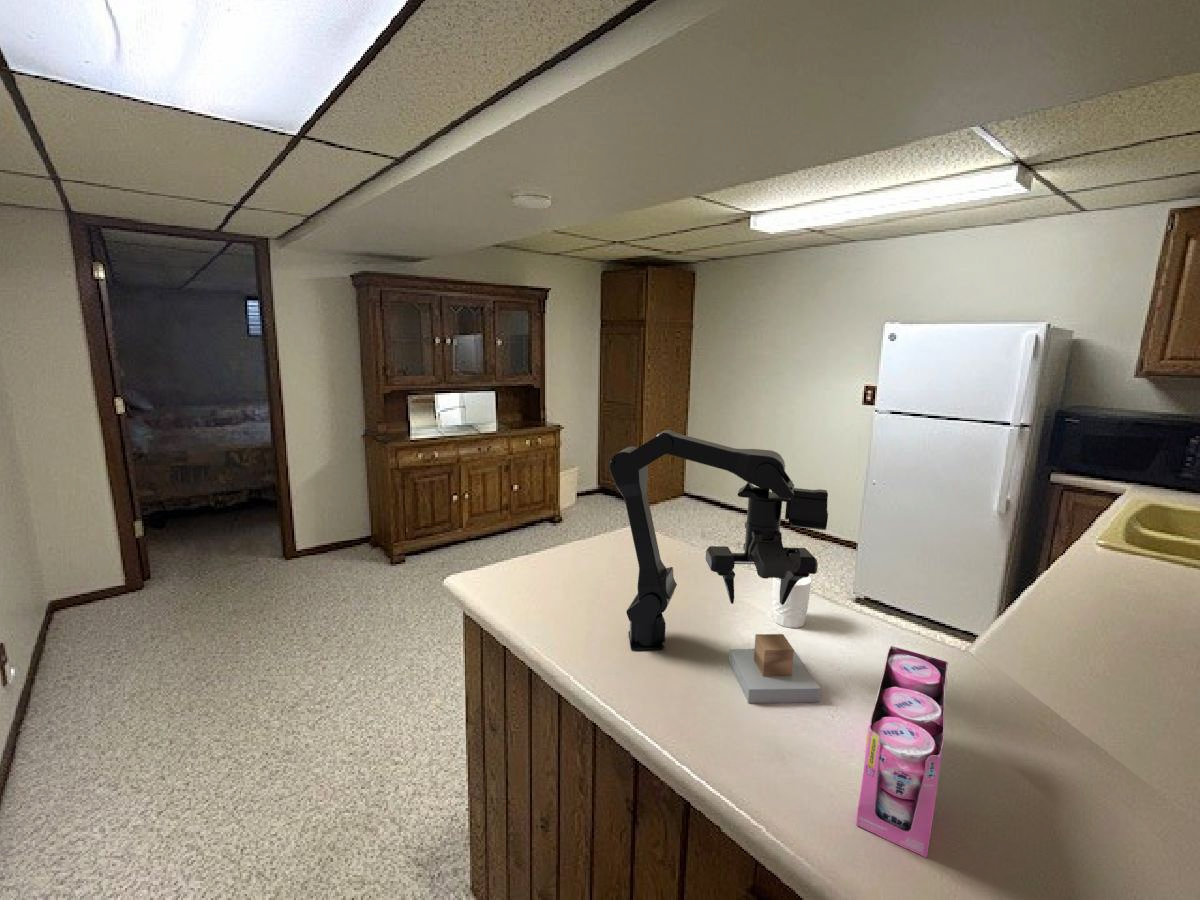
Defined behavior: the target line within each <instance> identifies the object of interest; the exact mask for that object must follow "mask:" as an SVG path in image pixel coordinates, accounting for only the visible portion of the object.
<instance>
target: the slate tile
mask: <svg viewBox="0 0 1200 900" xmlns="http://www.w3.org/2000/svg"><path fill="white" fill-rule="evenodd" d="M754 650H755V648H729V652H728V653H729V654H728V656H729V658H728V661H729V664H730V667H731V668H732V670H733V672H734V675H735V677H736V679H737V682H738V684H739V687H740V688H741V691H742V692H743V694H744V697H745V699H746V701H747V703H748V704H754V703H757V704H759V703H760V704H763V703H764V704H765V703H767V704H768V703H769V704H770V703H771V704H772V703H819V702H820V699H821V691H822V690H821V689H822V688H821V687H820V685H819V684H818V682H817V681H816V680H815V678H814V677H813V675H812V673H811V672H810V670H809V669H808V668H807V666H806V665H805V664H804V662H803V660H802V659H801V658H800V656H799V655H798V654H797V652H796V650H795V649H794V653H793V666H792V676H762V674H761V672H760V670H759V668H758V666H757V665H756V663H755V661H754Z"/></svg>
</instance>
